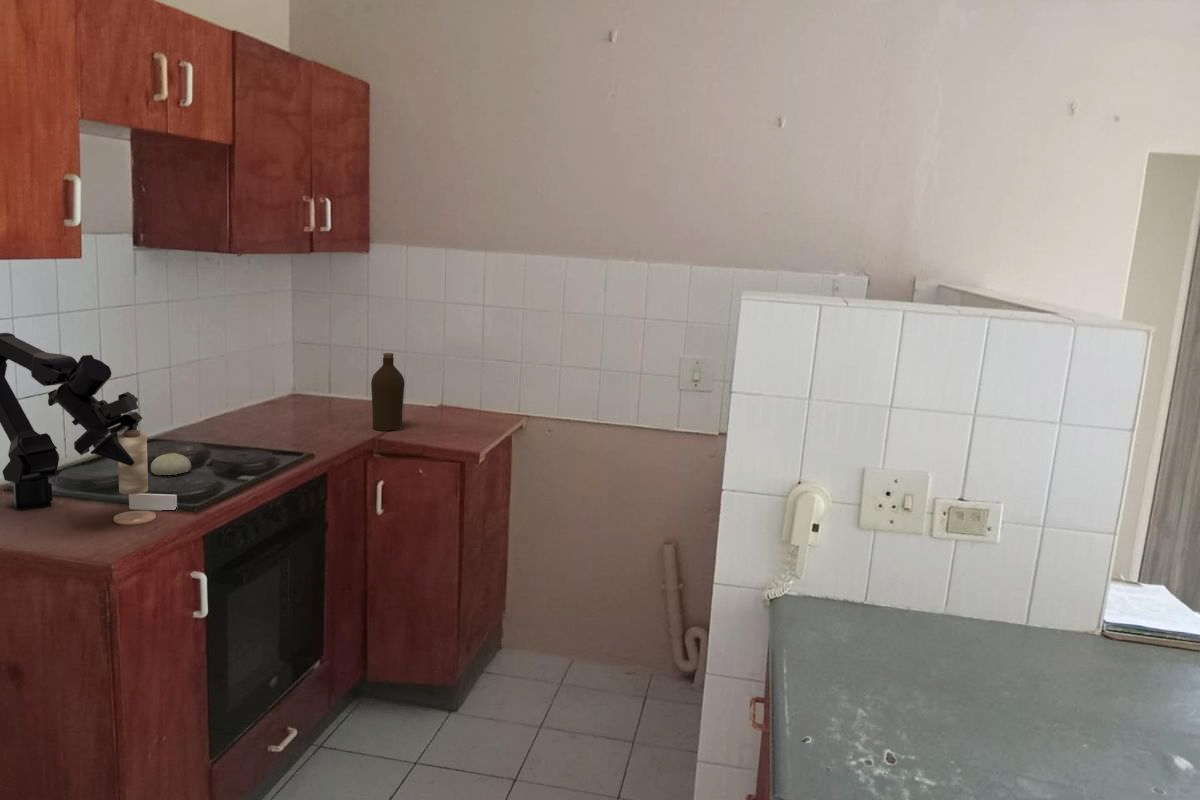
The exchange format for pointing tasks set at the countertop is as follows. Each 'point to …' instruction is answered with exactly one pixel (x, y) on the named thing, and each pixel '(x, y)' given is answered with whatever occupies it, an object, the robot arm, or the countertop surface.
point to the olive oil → (387, 396)
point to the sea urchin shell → (170, 464)
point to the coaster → (134, 517)
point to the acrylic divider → (152, 501)
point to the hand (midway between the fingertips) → (139, 460)
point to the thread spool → (137, 474)
